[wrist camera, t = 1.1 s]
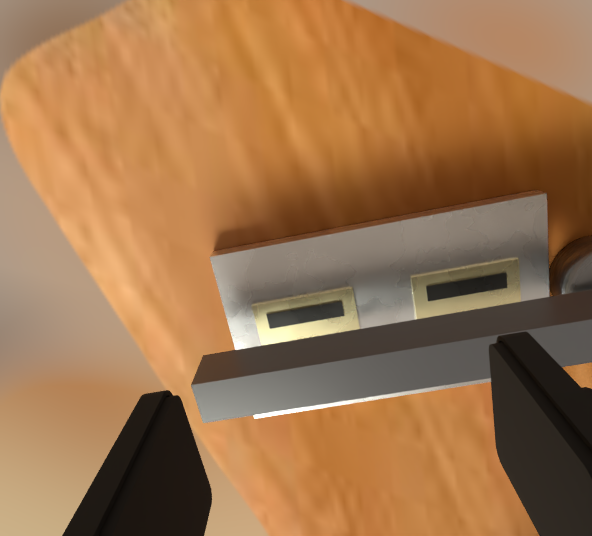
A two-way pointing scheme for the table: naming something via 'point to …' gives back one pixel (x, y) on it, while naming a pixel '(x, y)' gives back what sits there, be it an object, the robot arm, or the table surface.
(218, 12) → the table surface
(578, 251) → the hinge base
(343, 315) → the label panel
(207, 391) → the lever
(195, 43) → the table surface
